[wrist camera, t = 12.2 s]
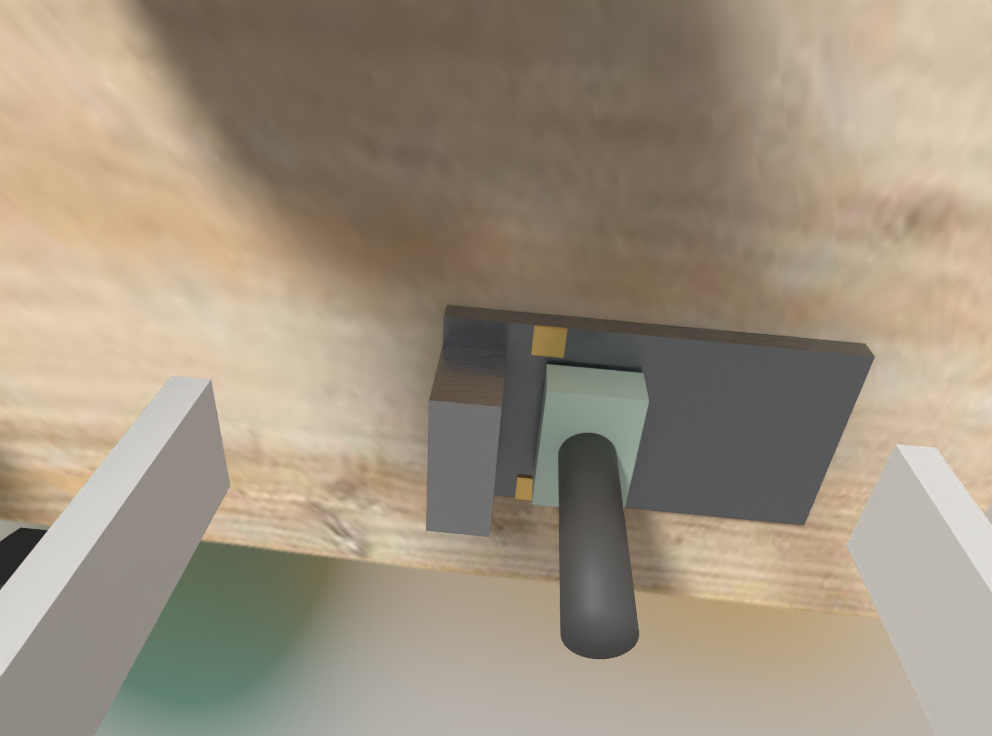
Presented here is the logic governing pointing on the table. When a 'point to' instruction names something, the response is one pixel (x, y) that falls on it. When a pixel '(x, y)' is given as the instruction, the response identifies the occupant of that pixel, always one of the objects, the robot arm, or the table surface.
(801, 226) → the table surface
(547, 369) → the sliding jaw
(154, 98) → the table surface
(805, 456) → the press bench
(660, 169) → the table surface
